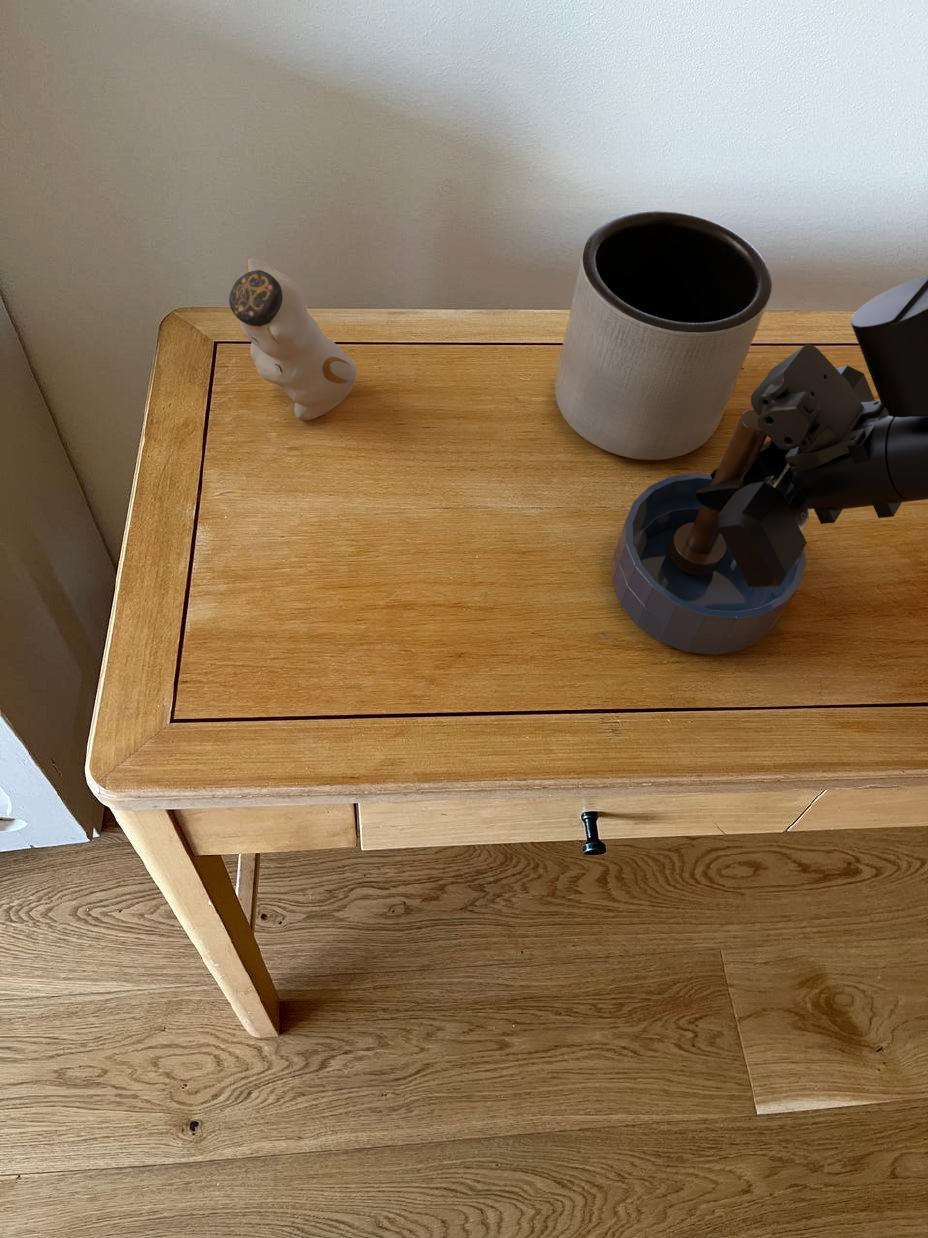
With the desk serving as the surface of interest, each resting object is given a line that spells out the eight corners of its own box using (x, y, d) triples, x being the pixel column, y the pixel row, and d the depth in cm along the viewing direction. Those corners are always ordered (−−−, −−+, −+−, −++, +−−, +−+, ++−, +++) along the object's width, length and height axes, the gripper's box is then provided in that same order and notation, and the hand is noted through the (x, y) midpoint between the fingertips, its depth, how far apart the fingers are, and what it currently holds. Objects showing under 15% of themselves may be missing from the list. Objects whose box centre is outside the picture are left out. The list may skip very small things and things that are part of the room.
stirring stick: (709, 530, 79) (773, 394, 66) (728, 571, 77) (798, 439, 64) (661, 537, 78) (716, 401, 65) (679, 579, 76) (739, 447, 63)
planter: (752, 428, 88) (815, 292, 75) (622, 492, 83) (665, 357, 70) (646, 328, 95) (687, 187, 82) (519, 382, 90) (541, 240, 77)
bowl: (739, 508, 83) (762, 463, 78) (806, 642, 76) (835, 601, 70) (588, 531, 80) (602, 485, 75) (642, 671, 73) (661, 631, 68)
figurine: (247, 376, 88) (223, 235, 75) (353, 370, 89) (347, 230, 76) (251, 444, 83) (226, 306, 70) (363, 436, 84) (358, 299, 72)
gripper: (916, 272, 61) (716, 333, 73) (800, 435, 52) (594, 474, 64) (968, 415, 65) (772, 450, 77) (870, 587, 56) (665, 596, 68)
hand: (705, 487), depth 72 cm, fingers closed on stirring stick, 2 cm apart
